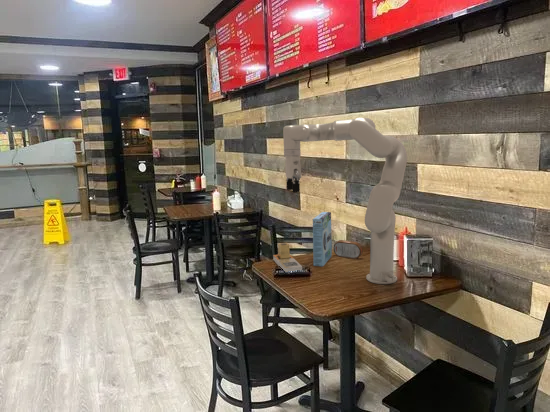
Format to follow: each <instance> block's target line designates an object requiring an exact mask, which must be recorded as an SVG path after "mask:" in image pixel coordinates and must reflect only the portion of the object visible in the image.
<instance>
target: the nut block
mask: <svg viewBox="0 0 550 412" xmlns="http://www.w3.org/2000/svg"><path fill="white" fill-rule="evenodd" d="M277 255H278V258H279V259H289V258H290V255H291V254H290V243H288V242H281V243H280V242H279V243H277Z"/></svg>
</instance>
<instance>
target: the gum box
mask: <svg viewBox="0 0 550 412" xmlns="http://www.w3.org/2000/svg"><path fill="white" fill-rule="evenodd" d="M332 243H333V241H332V212H330V211H321V212H320V213H319V214H318V215H316V216H315V217H314V218H312V252H313V255H312V257H313V258H312V260H313V261H312V263H313V264H312V265H313V266H314V267H324V266H325V265H326V263H327V262H328V261H329V260H330V259H331V258H332V255H333V253H332V251H333V249H332V247H333V246H332V245H333V244H332Z"/></svg>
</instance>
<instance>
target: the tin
mask: <svg viewBox="0 0 550 412" xmlns="http://www.w3.org/2000/svg"><path fill="white" fill-rule="evenodd" d="M332 247H333V249H332V250H333V252H334V254H335V255H336V256H337V257H338V258H339V257H340V258H346V259H353V260H356V259H358V258H360V257H362V255H363V252H364V249H363V246H362V245H361V244H360V243H359V242H357V241H351V240H345V239H344V240H342V239H339V240H337V241H336V242H335V243H333V246H332Z"/></svg>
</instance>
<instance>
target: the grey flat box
mask: <svg viewBox="0 0 550 412" xmlns="http://www.w3.org/2000/svg"><path fill="white" fill-rule="evenodd" d="M272 258H273V262H275V264H276V265H277V266H278V267H279V266H280V267H281V268H282V269H283V270H284V271H285V272H288V271H295V270H302V271H303V266H302V264H300V263H299V262H298V261H297V260H296V259H295V258H294V257H293V256H292V255H291V254H290V258H289V259H279V258H278V254H273V255H272ZM280 267H279V268H280ZM281 268H280V269H281ZM282 269H281V270H282Z"/></svg>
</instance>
